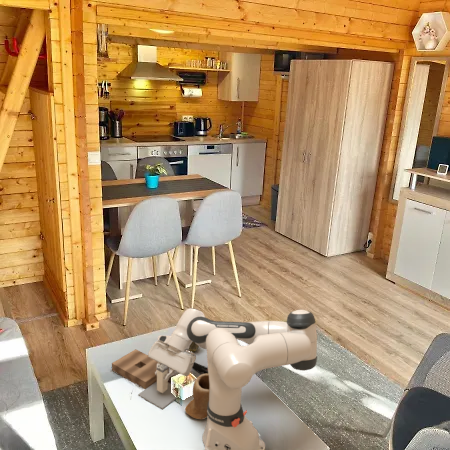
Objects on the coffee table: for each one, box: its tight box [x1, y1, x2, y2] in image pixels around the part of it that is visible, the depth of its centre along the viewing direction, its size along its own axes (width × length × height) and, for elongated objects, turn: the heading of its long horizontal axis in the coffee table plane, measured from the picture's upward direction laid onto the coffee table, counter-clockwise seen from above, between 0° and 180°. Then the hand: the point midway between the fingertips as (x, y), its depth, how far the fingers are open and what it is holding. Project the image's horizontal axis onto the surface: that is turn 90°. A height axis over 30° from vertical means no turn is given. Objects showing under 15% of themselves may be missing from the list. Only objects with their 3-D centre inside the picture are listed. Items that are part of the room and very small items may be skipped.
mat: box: [137, 382, 178, 410], centre depth 184 cm, size 13×13×1 cm
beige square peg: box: [157, 364, 169, 393], centre depth 182 cm, size 3×3×10 cm
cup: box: [188, 342, 200, 353], centre depth 213 cm, size 8×7×8 cm
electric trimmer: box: [192, 361, 208, 374], centre depth 199 cm, size 4×16×3 cm, turn 53°
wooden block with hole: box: [111, 349, 170, 390], centre depth 196 cm, size 20×14×4 cm
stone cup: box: [184, 373, 210, 420], centre depth 174 cm, size 15×12×15 cm
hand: (161, 377), depth 181 cm, fingers closed on beige square peg, 3 cm apart
